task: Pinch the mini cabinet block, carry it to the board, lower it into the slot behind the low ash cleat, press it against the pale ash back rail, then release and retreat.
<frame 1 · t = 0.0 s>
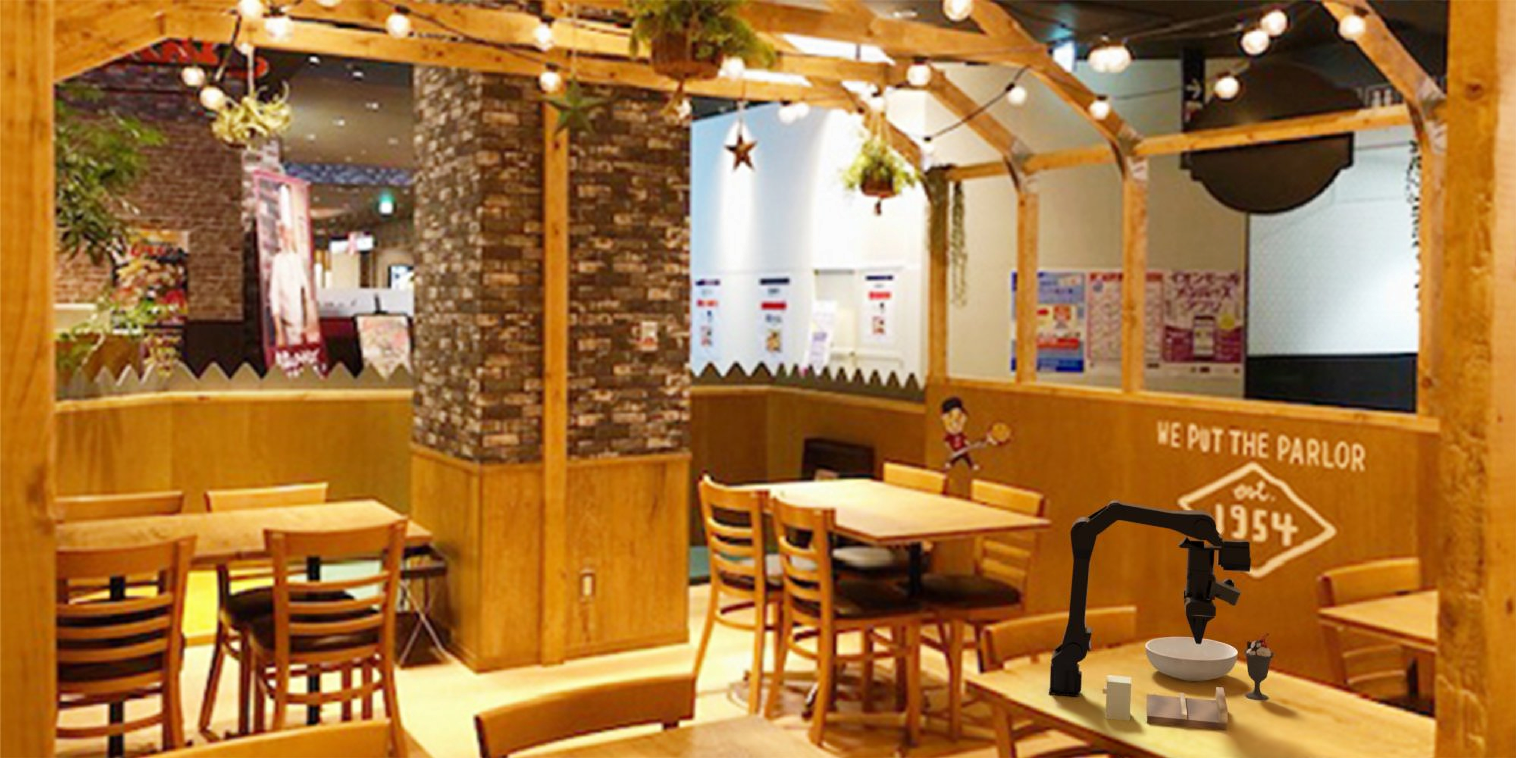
hand: (1197, 638, 302), 15 cm above the table, fingers open, 9 cm apart
serving bowl: (1190, 676, 325), on the table
sundae: (1257, 697, 309), on the table
cleat board: (1185, 715, 295), on the table
cabinet block: (1117, 715, 294), on the table
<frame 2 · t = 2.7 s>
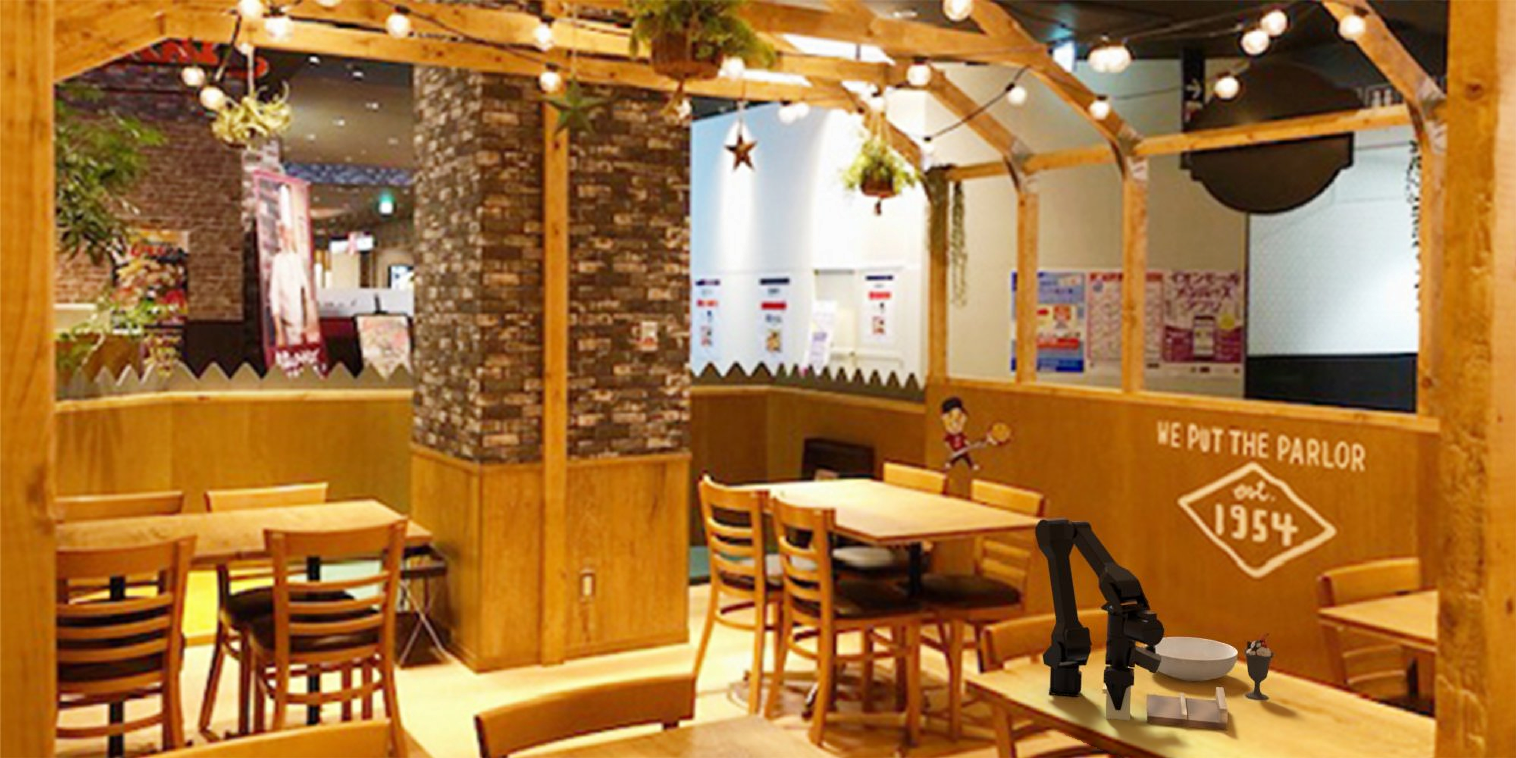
hand: (1118, 706, 294), 2 cm above the table, fingers closed on cabinet block, 5 cm apart
cabinet block: (1117, 715, 294), on the table, touching gripper
everything else where it was.
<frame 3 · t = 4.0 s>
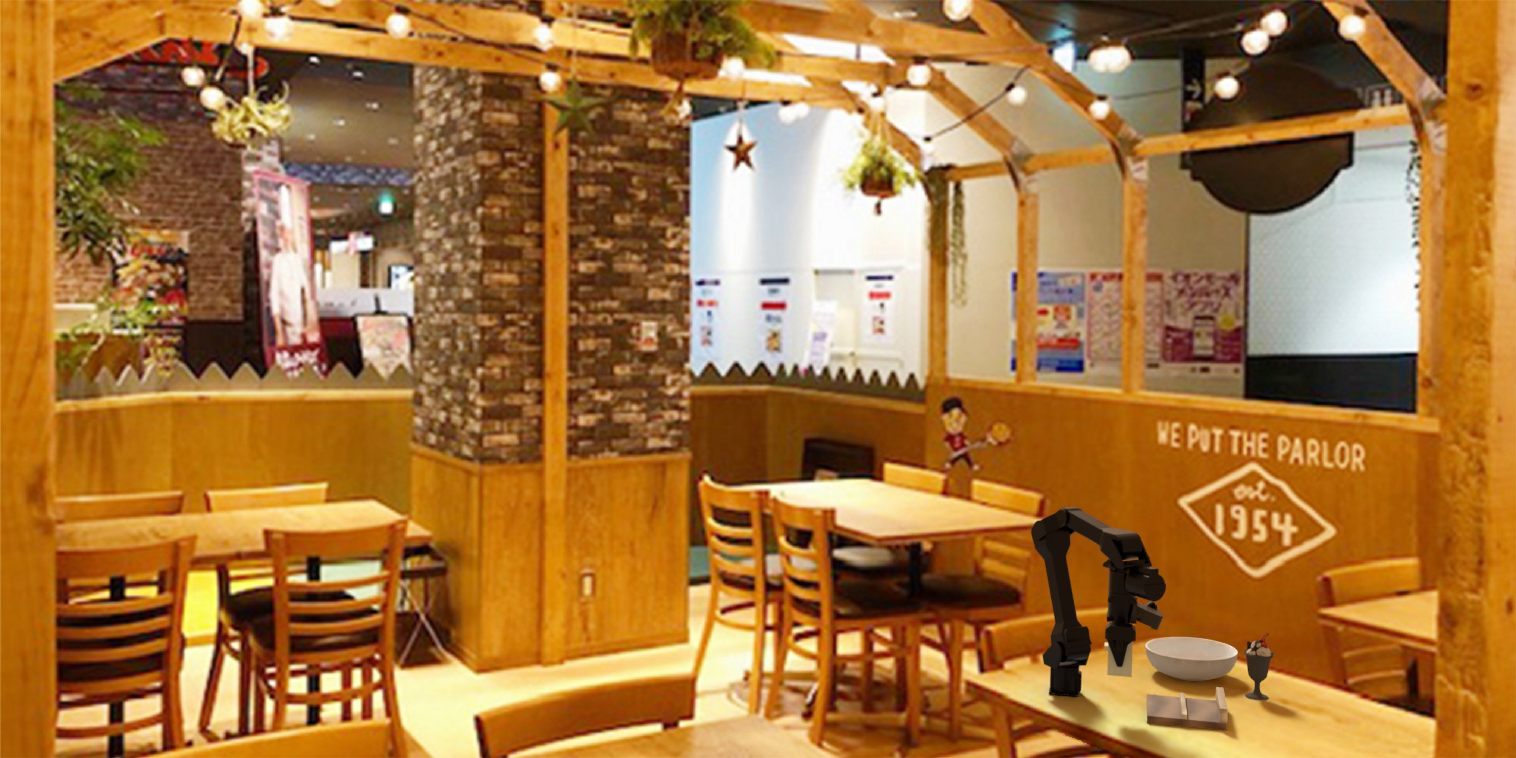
hand: (1119, 663, 293), 11 cm above the table, fingers closed on cabinet block, 5 cm apart
cabinet block: (1119, 672, 293), point 9 cm above the table, touching gripper
everything else where it was.
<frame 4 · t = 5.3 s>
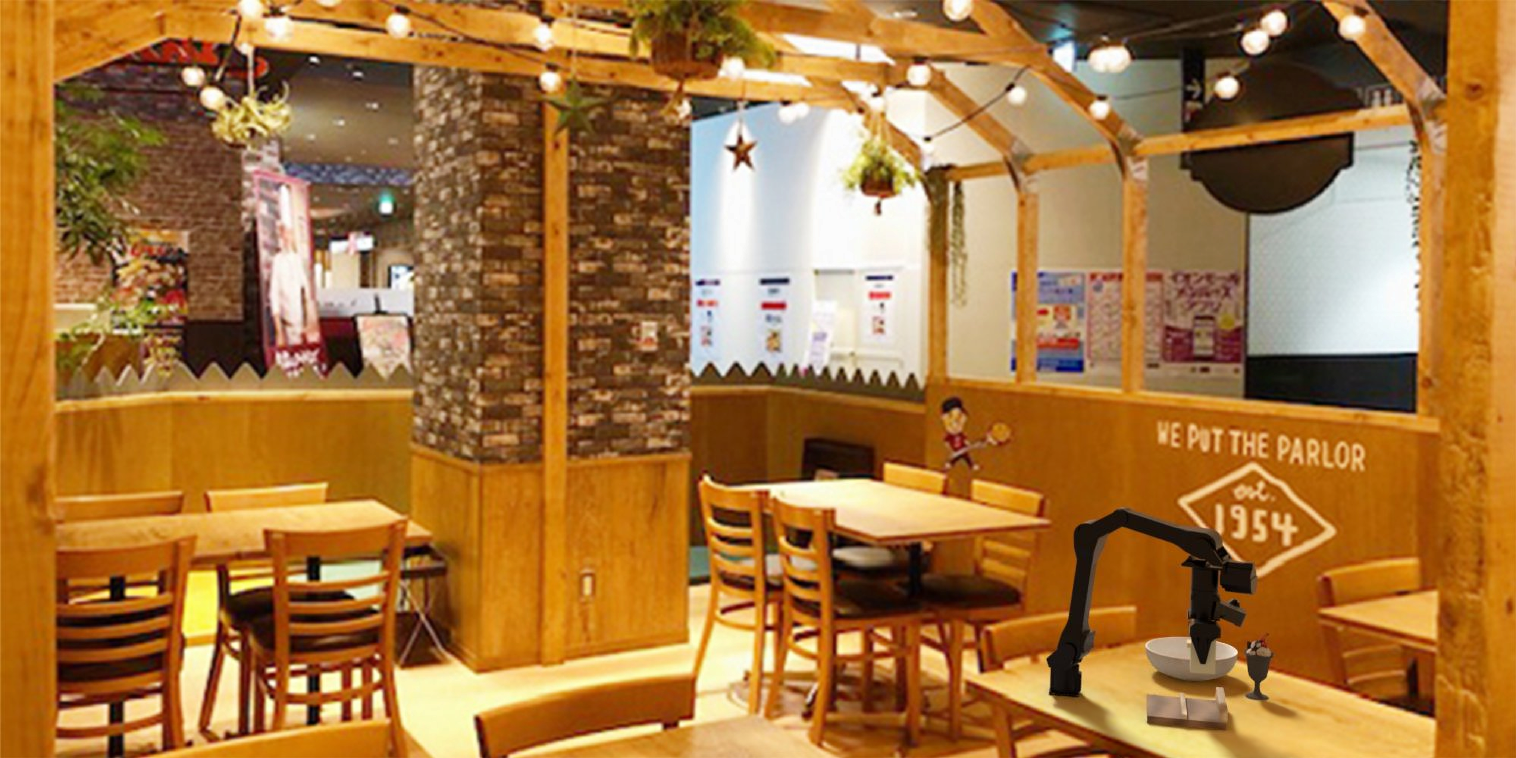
hand: (1202, 660, 293), 12 cm above the table, fingers closed on cabinet block, 5 cm apart
cabinet block: (1202, 670, 293), point 10 cm above the table, touching gripper
everything else where it was.
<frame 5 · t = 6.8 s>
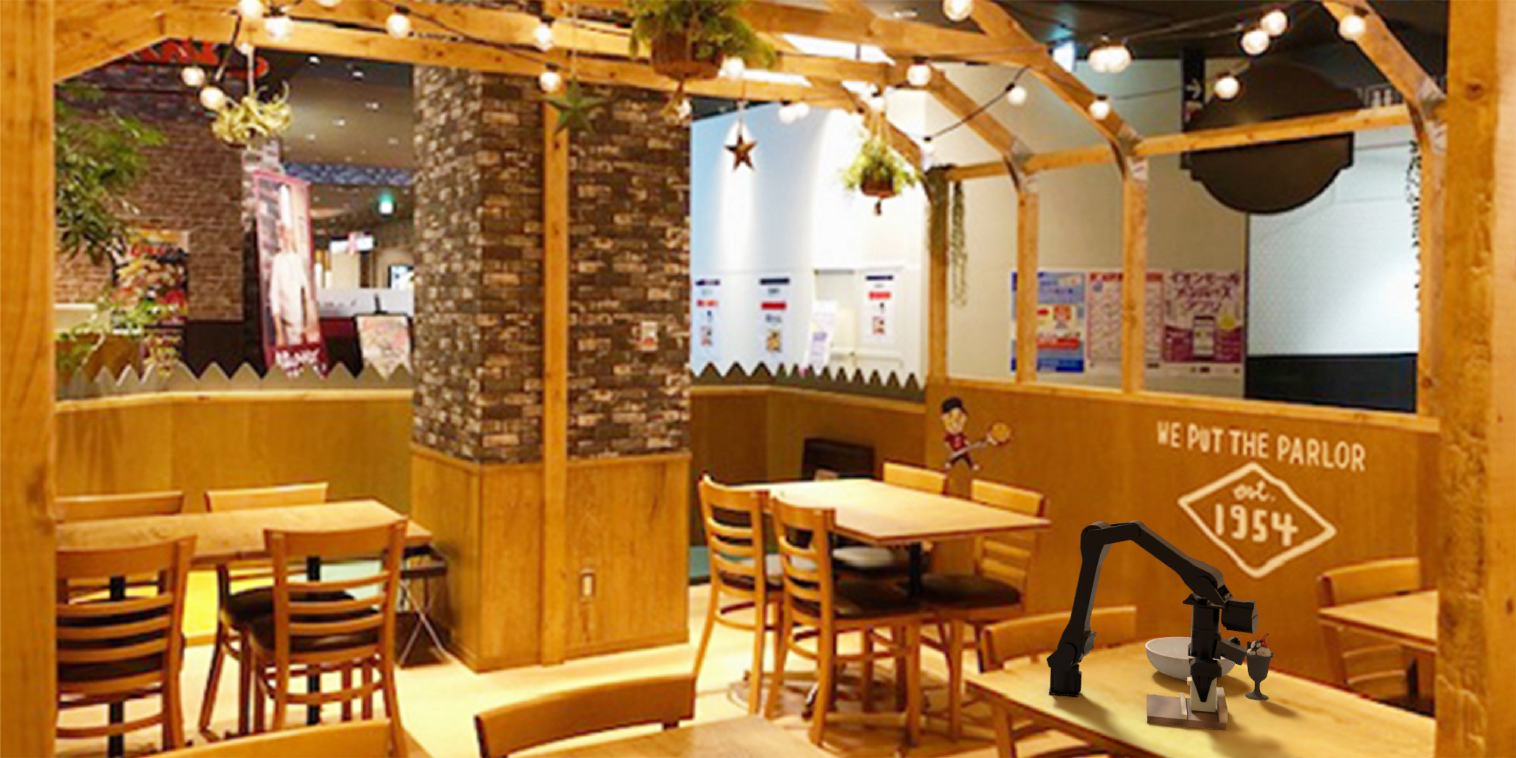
hand: (1202, 698, 294), 4 cm above the table, fingers closed on cabinet block, 5 cm apart
cabinet block: (1202, 707, 294), point 2 cm above the table, touching gripper
everything else where it was.
when the fingers open (4 cm above the table, at t = 8.1 s): cabinet block stays where it is, resting on cleat board.
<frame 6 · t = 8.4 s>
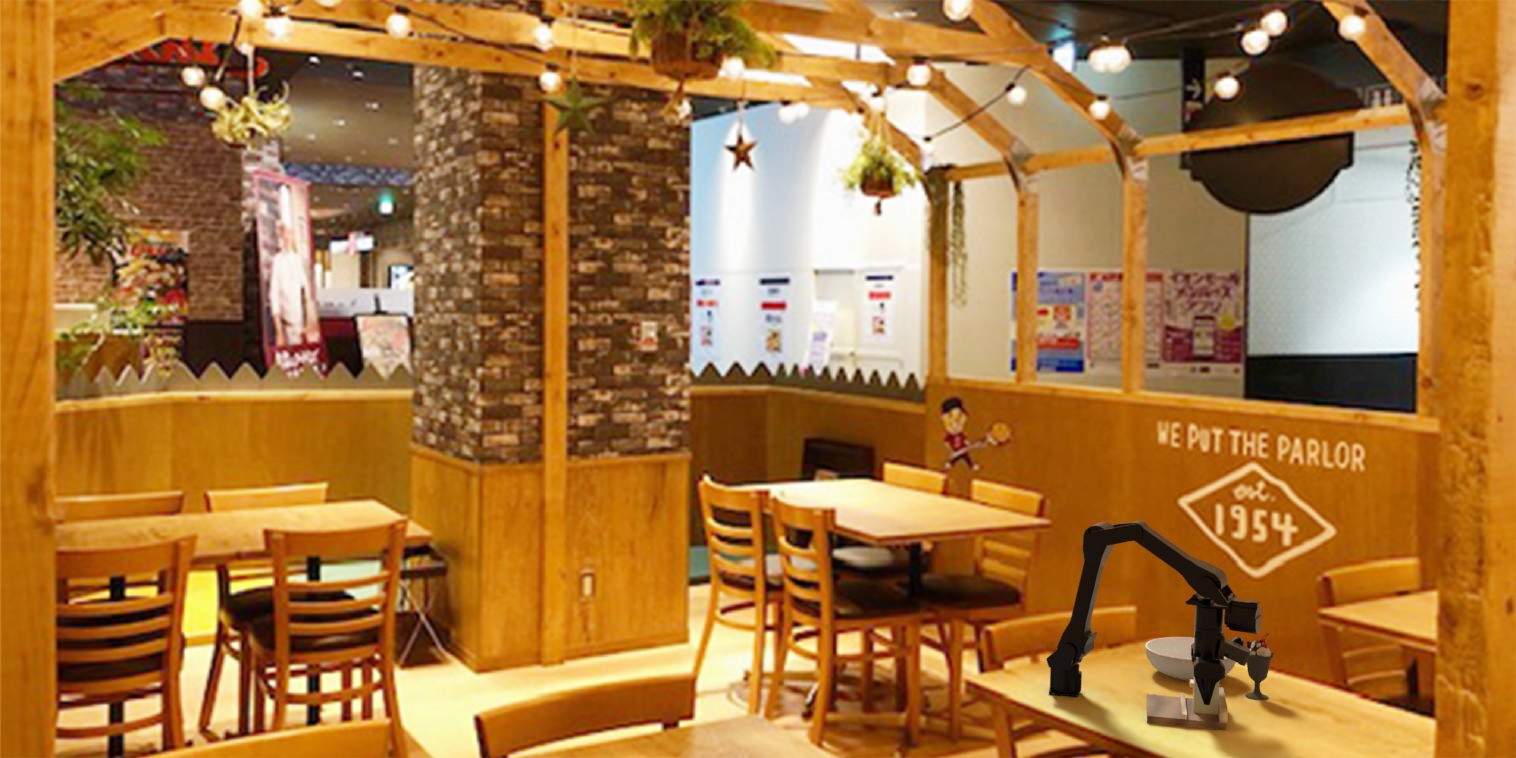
hand: (1205, 698, 293), 4 cm above the table, fingers open, 9 cm apart
cabinet block: (1205, 710, 294), point 1 cm above the table, touching cleat board
everything else where it was.
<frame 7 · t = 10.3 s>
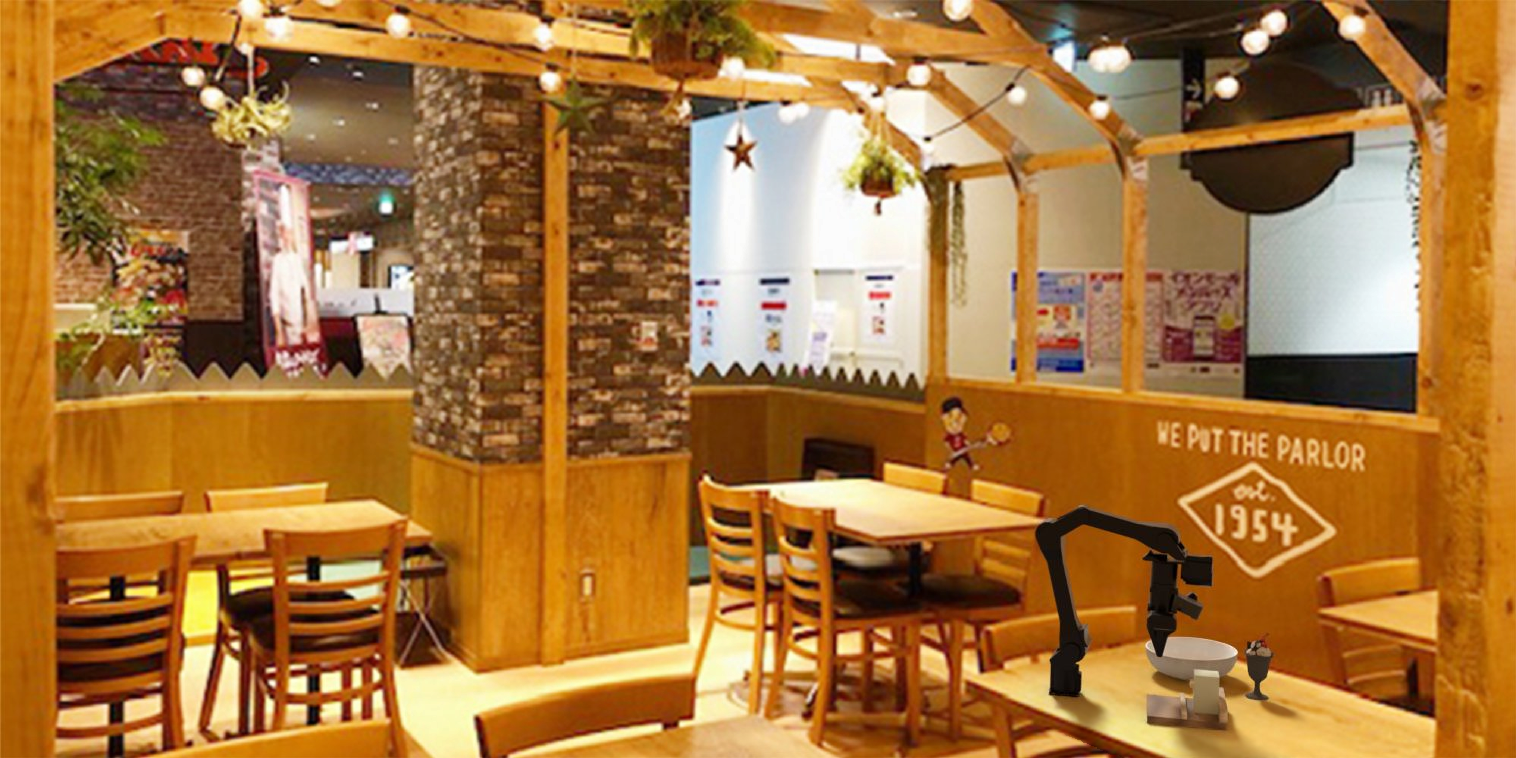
hand: (1159, 651, 302), 12 cm above the table, fingers open, 9 cm apart
nothing on the table moved.
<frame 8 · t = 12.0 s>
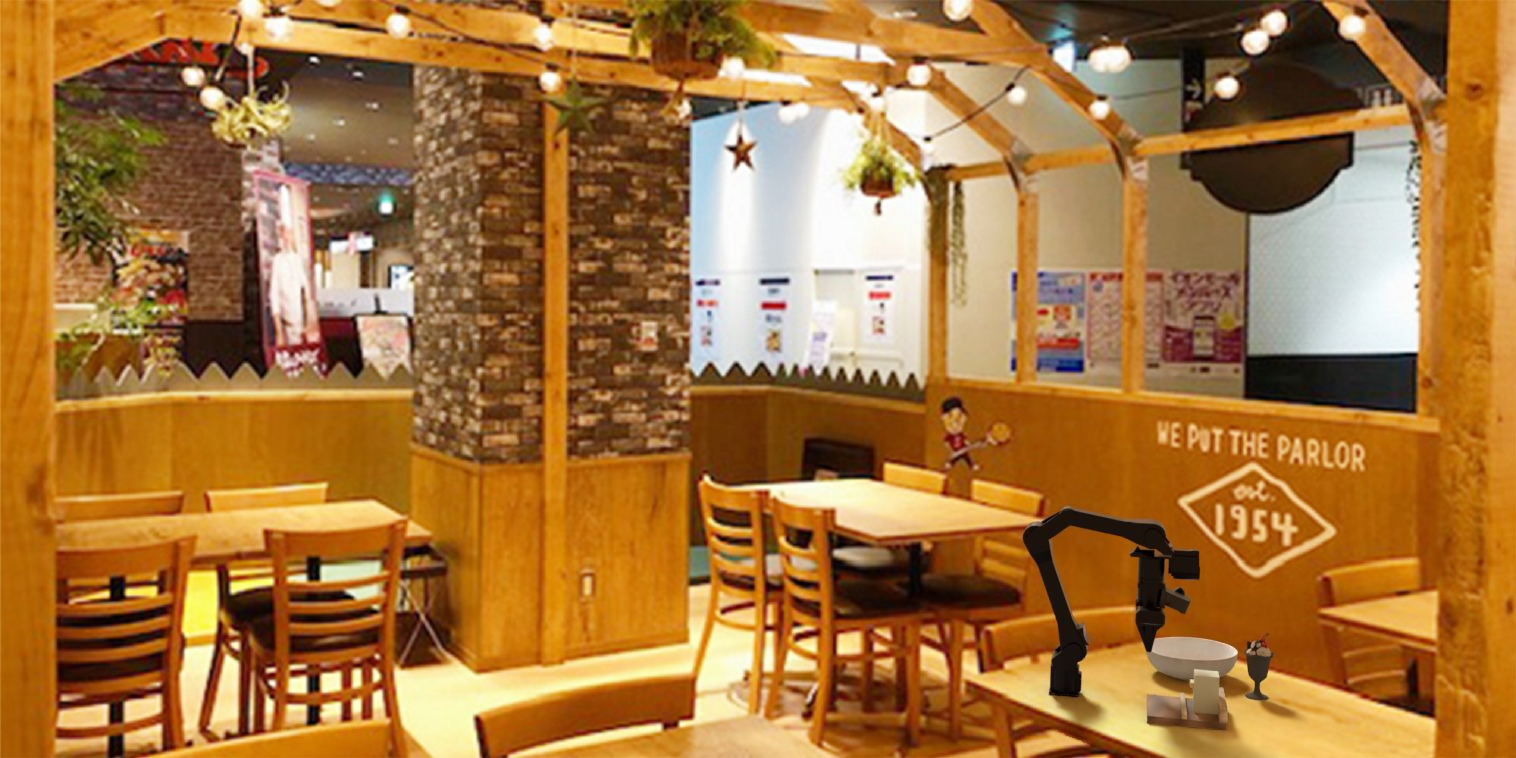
hand: (1148, 646, 305), 12 cm above the table, fingers open, 9 cm apart
nothing on the table moved.
at the end: cabinet block inside the target area on the cleat board (0.1 cm from its centre), point 1.5 cm above the cleat board's base; cabinet block tilted 0°; the gripper is holding nothing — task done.
